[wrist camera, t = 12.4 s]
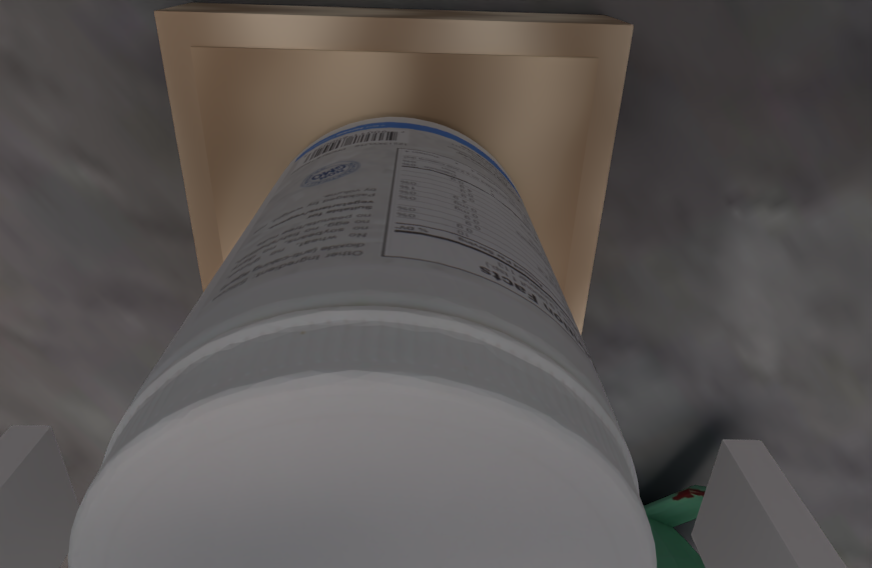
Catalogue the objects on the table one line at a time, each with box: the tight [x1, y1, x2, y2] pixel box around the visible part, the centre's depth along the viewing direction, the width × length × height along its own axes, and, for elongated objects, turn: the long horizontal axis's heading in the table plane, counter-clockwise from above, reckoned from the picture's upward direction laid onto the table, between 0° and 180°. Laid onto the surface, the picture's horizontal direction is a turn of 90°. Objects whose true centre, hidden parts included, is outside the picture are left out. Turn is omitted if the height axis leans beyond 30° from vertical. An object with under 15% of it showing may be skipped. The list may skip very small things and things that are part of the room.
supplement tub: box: [68, 117, 657, 568], centre depth 16 cm, size 10×10×15 cm
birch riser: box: [154, 3, 634, 334], centre depth 24 cm, size 15×15×4 cm
